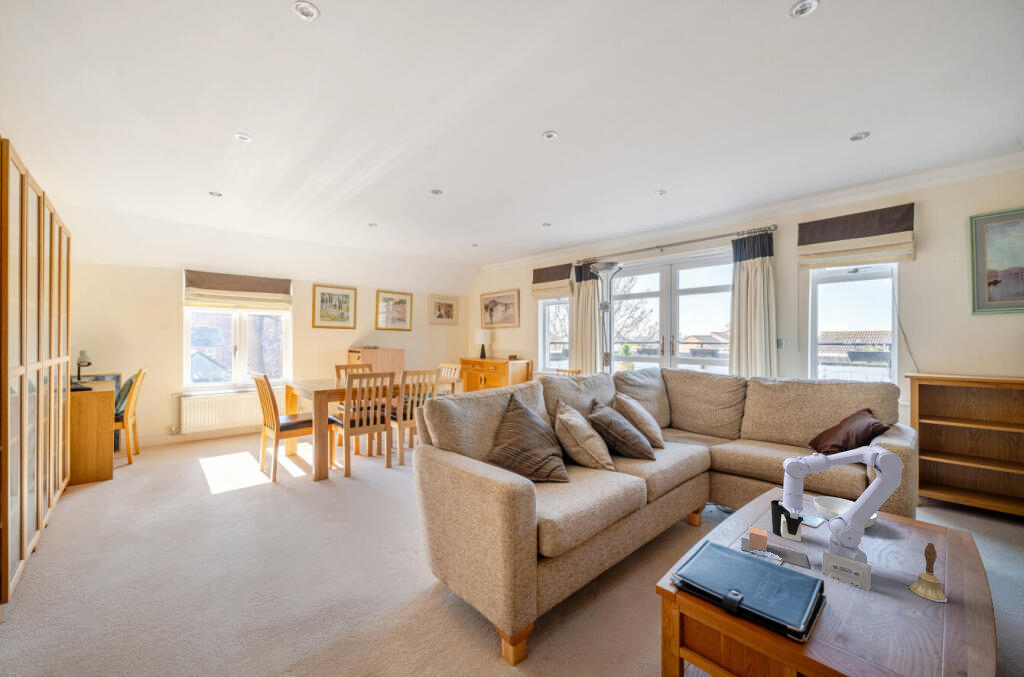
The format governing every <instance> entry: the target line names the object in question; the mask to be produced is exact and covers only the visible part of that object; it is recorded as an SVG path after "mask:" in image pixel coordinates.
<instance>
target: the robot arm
mask: <svg viewBox="0 0 1024 677" xmlns="http://www.w3.org/2000/svg"><path fill="white" fill-rule="evenodd" d="M796 457H797V458H796ZM796 457H795V458H794V457H788V458H785V460H783V462H782V463H781V464H782V466H781V467H782V468H783V470H784V475H783V476H784V477H783V486H782V487H783V489H782V490H783V492H782V493H783V494H782V501H783V502H779V505H781V506H782V508H783V510H784V512H783V514H784V517H785V519H786V522H787V529H788V534H791V535H796V533H797V530H798V527H799V525H800V523H801V524H802V522H804V521H803V520H804V517H803V516H799V514H800V513H801V512H803V510H804V507H803V506H804V504H803V503H804V502H803V500H804V479H805V477H806V476H807V475H810V474H816V473H821V472H827V471H830V469H831V468H832V467H833V466H840V465H847V464H855V463H862V464H865V465H869V466H872V467H873V469H874V472H875V474H876V477H875V479H873V481H872V482H871V483H870V485H869V486H868V487H867V488H866V489H865V490H864V491H863V492H862V494H861V495H860V496H859V497H858V498H857V499H856V501H854V502H855V503H854V504H853V505H852V506H851V508H850V509H849V510H848V511H847V512H844V513H840V514H839V515H838V516H837V517H835V518H832V519H831V520H828V523H827V527H828V529H829V531H830V532H831V535H830V536H829V549H828V553H831V554H835V555H838V556H841V557H844V558H847V559H851V560H854V561H857V562H860V563H864V564H867V565H868V556H867V553H866V552H864V551H863V550H861V549H860V548H859V547H858V546H859V545H860V544H861V542H862V538H863V535H864V534H865V528H864V525H865V524H866V522H867V521H868V520H869V519H870V518H871V517H872V516H873V515H874V513H876V512H877V511H879V509H880V508H881V507H882V505H884V503H886V501H887V500H888V499H889V498H890V496H891V495H893V493H894V492H895V491H896V490H897V489H898V488H899V487H900V486H901V483H902V477H903V476H902V474H903V472H902V470H903V469H904V468H905V465H904V463H903V461H902V459H901V457H900V456H899V455H898V454H896V453H894V452H892V451H890V450H888V449H887V448H885V447H883V446H881V445H878V444H871V445H865V446H861V447H857V448H854V449H851V450H847V451H843V452H838V453H837V452H836V453H834V454H828V455H825V454H824V453H817V452H813V453H812V455H811V454H810V455H806V456H800V455H799V456H796ZM834 566H835V567H838V566H837V565H834ZM840 569H843V570H846V571H849V572H852V570H850V569H847V568H844V567H841V566H840ZM855 573H856V574H858V572H855Z"/></svg>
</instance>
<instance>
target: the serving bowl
mask: <svg viewBox="0 0 1024 677" xmlns="http://www.w3.org/2000/svg"><path fill="white" fill-rule="evenodd" d="M855 502H856V501H852V500H849V499H844V498H841V497H834V496H827V495H826V496H825V495H824V496H823V495H822V496H815V497H814V498H813V505H814V508H815V510H816V511H817V512H818V513H819V515H820V516H822V517H823V518H824V519H826V520H828V521H830V520H831V519H832V518H835V517H837V516H838V515H839V514H840V513H844V512H847V511H848V510H849V509H850V508H851V506H852V505H853V504H854V503H855ZM877 519H878V514H877V513H876V512H875V513H874V515H873V516H872V517H871V518H870V519H869V520H868V521H867V522H866V524H865V525H864V529H866V528H867V529H868V528H870V527H872V526H873V525H874V524H875V523H876V522H877Z"/></svg>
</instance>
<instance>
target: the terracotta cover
mask: <svg viewBox="0 0 1024 677" xmlns="http://www.w3.org/2000/svg"><path fill="white" fill-rule="evenodd" d="M748 539H749V549H753V550H758V551H763V552H766V547H767V544H768V532H767V530H766V529H762V528H758V527H754V526H751V525H750V526H749V527H748Z"/></svg>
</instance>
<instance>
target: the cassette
mask: <svg viewBox="0 0 1024 677" xmlns="http://www.w3.org/2000/svg"><path fill="white" fill-rule="evenodd" d="M834 565H837V566H838V567H835V566H834ZM840 566H841V567H844V568H847V569H850V570H852V572H849V571H846V570H843V569H840ZM855 572H858V574H856V573H855ZM821 574H822V576H825V577H828V579H829V578H830V579H833V580H835V581H838V582H841V583H844V584H847V585H851V586H853V587H855V588H859V589H863V590H865V591H866V590H867V591H868V592H869V591H871V584H872V583H871V577H872V565H870V564H868V563H867V564H864V563H860V562H857V561H854V560H851V559H847V558H844V557H841V556H838V555H835V554H831V553H829V551H824V550H823V552H822V561H821Z"/></svg>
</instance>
